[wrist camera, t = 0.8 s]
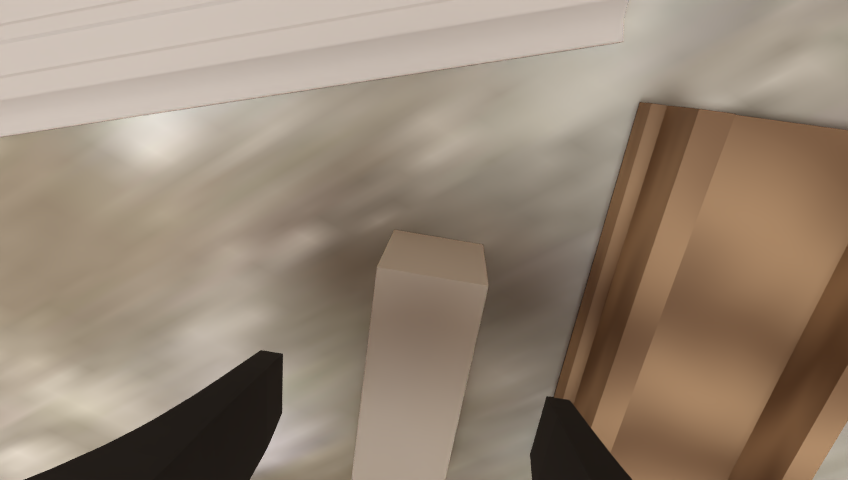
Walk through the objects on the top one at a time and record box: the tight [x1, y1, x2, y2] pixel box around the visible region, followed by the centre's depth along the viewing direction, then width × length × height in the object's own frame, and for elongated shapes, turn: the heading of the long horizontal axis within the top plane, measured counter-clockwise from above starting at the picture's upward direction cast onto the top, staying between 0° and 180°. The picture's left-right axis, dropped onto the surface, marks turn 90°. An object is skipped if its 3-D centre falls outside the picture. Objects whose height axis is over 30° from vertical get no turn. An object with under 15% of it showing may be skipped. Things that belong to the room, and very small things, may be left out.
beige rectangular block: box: [352, 230, 489, 480], centre depth 18 cm, size 12×4×4 cm, turn 172°
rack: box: [554, 102, 848, 480], centre depth 16 cm, size 16×9×3 cm, turn 173°
